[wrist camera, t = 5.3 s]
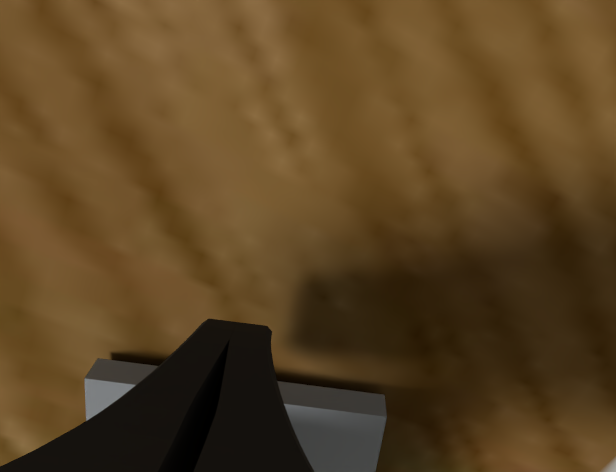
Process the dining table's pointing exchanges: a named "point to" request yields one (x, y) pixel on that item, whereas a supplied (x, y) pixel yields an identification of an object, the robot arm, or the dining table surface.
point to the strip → (300, 408)
